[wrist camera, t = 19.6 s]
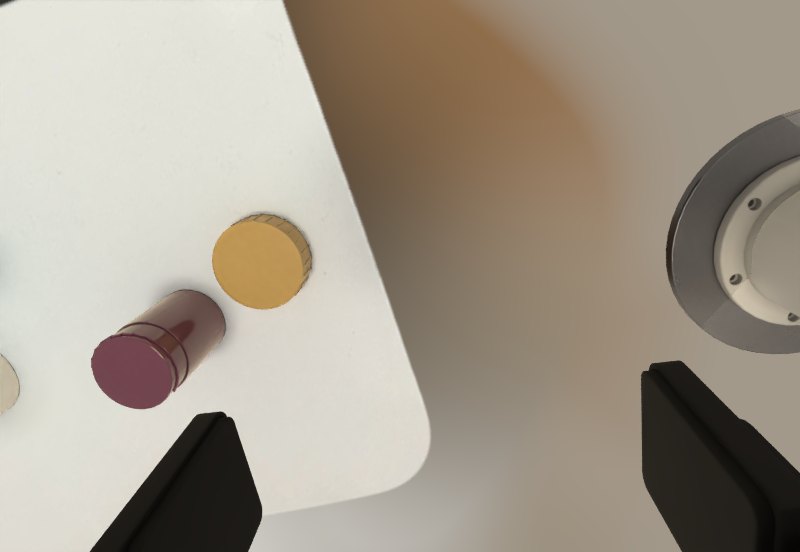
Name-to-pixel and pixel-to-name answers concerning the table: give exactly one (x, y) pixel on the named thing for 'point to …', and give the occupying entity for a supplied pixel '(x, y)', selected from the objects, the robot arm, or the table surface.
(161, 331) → the cream jar
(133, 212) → the table surface
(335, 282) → the table surface
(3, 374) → the cylindrical container
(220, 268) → the jar lid
